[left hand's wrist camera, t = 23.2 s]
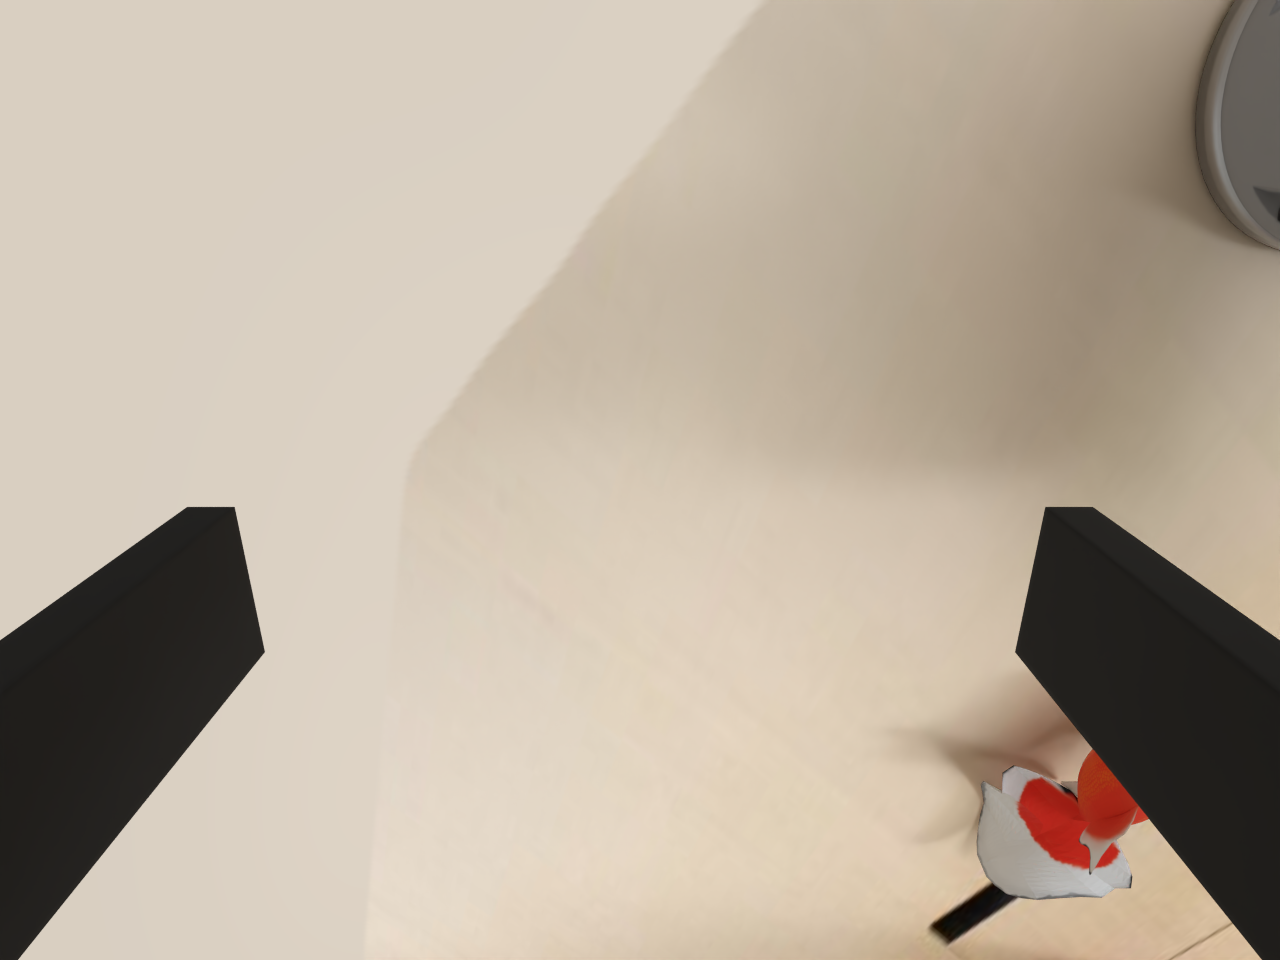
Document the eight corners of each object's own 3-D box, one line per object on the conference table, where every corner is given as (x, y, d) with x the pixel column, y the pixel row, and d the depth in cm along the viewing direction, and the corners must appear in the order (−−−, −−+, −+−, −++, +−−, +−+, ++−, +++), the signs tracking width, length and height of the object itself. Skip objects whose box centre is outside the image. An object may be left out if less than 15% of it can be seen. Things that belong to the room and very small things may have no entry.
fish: (1281, 814, 44) (1307, 954, 36) (1019, 848, 54) (996, 964, 46) (1180, 656, 44) (1185, 762, 36) (937, 718, 54) (900, 812, 46)
